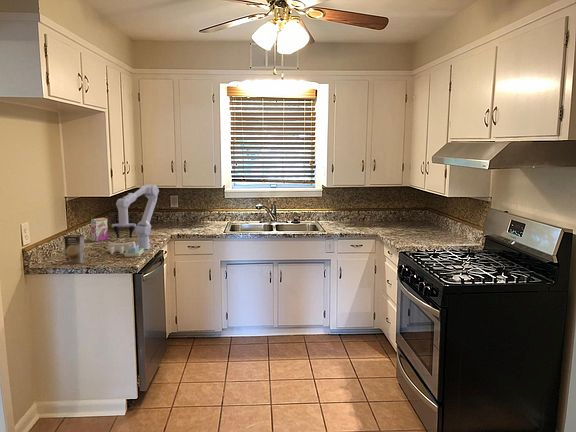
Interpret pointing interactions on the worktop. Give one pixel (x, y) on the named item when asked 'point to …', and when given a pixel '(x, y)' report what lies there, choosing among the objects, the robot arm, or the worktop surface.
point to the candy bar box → (99, 229)
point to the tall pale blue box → (134, 248)
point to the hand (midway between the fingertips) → (124, 238)
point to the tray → (134, 253)
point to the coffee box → (74, 248)
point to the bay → (119, 247)
